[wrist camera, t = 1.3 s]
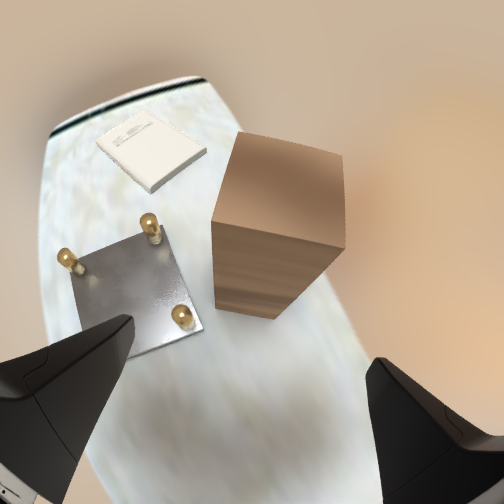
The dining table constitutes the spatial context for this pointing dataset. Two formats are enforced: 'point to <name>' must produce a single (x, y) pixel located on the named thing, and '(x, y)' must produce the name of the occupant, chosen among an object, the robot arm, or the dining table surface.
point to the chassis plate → (134, 288)
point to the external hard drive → (150, 149)
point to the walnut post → (275, 223)
